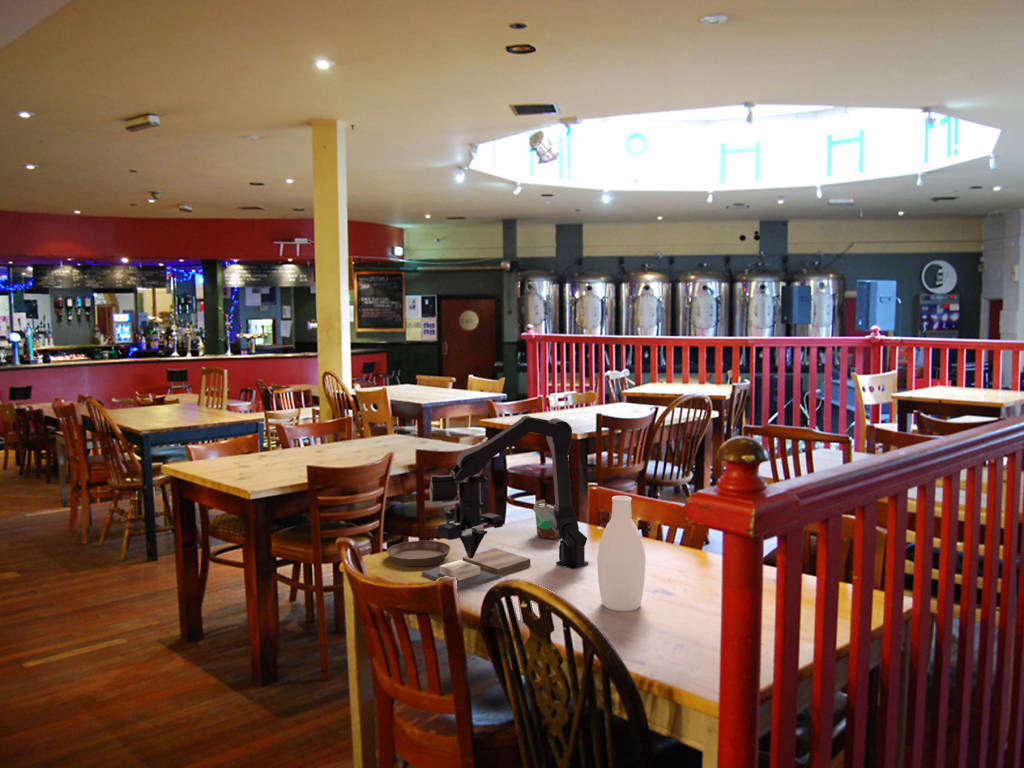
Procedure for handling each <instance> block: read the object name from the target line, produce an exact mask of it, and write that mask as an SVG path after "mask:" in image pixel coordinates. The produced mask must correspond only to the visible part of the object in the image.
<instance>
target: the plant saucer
mask: <svg viewBox="0 0 1024 768" xmlns="http://www.w3.org/2000/svg"><path fill="white" fill-rule="evenodd" d="M451 549H452V548H451V546H450V544H447V543H446V542H441V541H438V540H437V541H436V540H412V541H406V542H401V543H398V544H393V545H392V546H390V547H389V548H387V550H386V554H387V555H388V557H389V558H390V559H391V560H392V561H393V562H394V563H395V564H397V565H400V566H404V567H423V566H424V567H425V566H431V565H436V564H438V563H440V562H442V561H444V560H445V559H446V557H447V556H448V554H449V553H450V550H451Z"/></svg>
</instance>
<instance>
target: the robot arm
mask: <svg viewBox="0 0 1024 768" xmlns="http://www.w3.org/2000/svg"><path fill="white" fill-rule="evenodd" d="M530 433H535V434H538V435H542V436H545V438H546V441H547V444H548V446H549V449H550V453H551V462H552V463H551V464H552V475H553V476H552V477H553V478H552V479H553V488H554V489H553V490H554V491H553V492H554V502H555V504H554V506H555V507H554V510H553V511H552V510H549V516H550V522H549V525H550V526H551V527H552V529H553V530H554V532H556V533H557V534H558V535H559V538H560V540H559V546H558V561H556V562H555V564H556V565H558V566H561V567H564V568H567V569H571V570H575V569H578V568H581V567H584V566H587V565H589V561H586V560H585V559H586V558H585V557H586V556H585V553H586V552H585V551H586V550H585V549H586V548H585V546H586V544H587V541H588V537H587V536H585V535H584V534H583V532H581V531H580V527H579V523H578V518H577V515H576V513H575V510H574V507H573V505H572V503H573V502H572V490H571V478H570V477H571V476H570V463H569V452H570V447H571V444H572V437H573V428H572V426H571V425H570V424H569V422H567V421H565V420H562V419H561V418H554V417H553V418H550V419H549V420H548V419H544V418H538V417H532V416H529V415H524V416H522V417H520V419H518V420H517V421H516V422H515V423H513V424H511V425H509V426H508V427H507V428H505V429H503V430H502V431H500V433H497V434H496V435H495V436H493V437H491V438H490V439H489V440H487V441H486V442H484V443H480V444H479V445H475V446H472V447H470V448H467V449H465V450H463V451H461V452H460V453H459V454H458V456H457V459H456V464H455V465H454V467H453V468H452V469H451V470H450V472H449V474H446V475H436V474H433V475H431V476H430V484H429V487H428V488H429V500H430V502H431V503H439V502H441V503H442V502H454V499H456V497H458V502H456V503H455V505H454V508H452V509H450V507H449V506H445V507H442V508H440V509H439V518H440V520H441V521H445V522H446V523H443V524H438V526H437V527H436V528H435V536H436V537H439V538H441V539H445V540H449V541H452V540H456V539H460V541H461V542H462V544H463V547H464V550H465V552H466V556H468V558H470V559H471V558H473V557H474V555H475V554H477V553H476V552H477V551H478V548H479V546H480V544H481V542H482V541H483V539H484V537H485V535H487V534H488V531H487V530H485V528H484V527H485V526H490V525H491V527H493V528H494V529H497V528H502V527H504V519H503V518H502V516H501V515H500V514H499V515H498V514H497V513H496V514H495V513H491V512H489V513H488V512H487V513H484V514H483V513H482V509H484V508H485V503H483V502H482V496H481V495H482V493H481V492H482V491H481V489H482V488H481V487H482V486H481V485H482V484H484V483H486V484H487V483H489V479H488V478H487V477H486V476H484V474H483V473H482V471H483V470H484V469H485V468H486V467H487V466H488V464H489V463H490V462H491V461H492V459H493V458H495V457H496V456H497V455H499V454H500V453H502V452H504V450H506V449H508V448H509V447H510V446H512V445H513V444H515V443H516V442H518V441H519V440H521V439H522V438H524V437H525V436H527V435H529V434H530ZM451 522H453V523H454V524H453V523H451Z"/></svg>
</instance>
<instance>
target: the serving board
mask: <svg viewBox="0 0 1024 768" xmlns="http://www.w3.org/2000/svg"><path fill="white" fill-rule="evenodd" d="M462 561H465V562H468V563H471V564H474V565H477V566H480V568H483V569H485V570H488V571H491V572H494V573H497V574H500V577H501V576H504V575H507V574H510V573H513V572H517V571H521V570H523V569H526V568H529V566H530V567H531V558H530V557H529V558H528V557H525V556H522V555H518V554H515V553H512V552H508V551H506V550H502V549H499V548H497V547H494V548H491V549H487V550H484V551H481V552H478V553H475V555H474V557H473V558H471V559H470V558H468V556H467V555H466V556H463V557H462Z"/></svg>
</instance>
